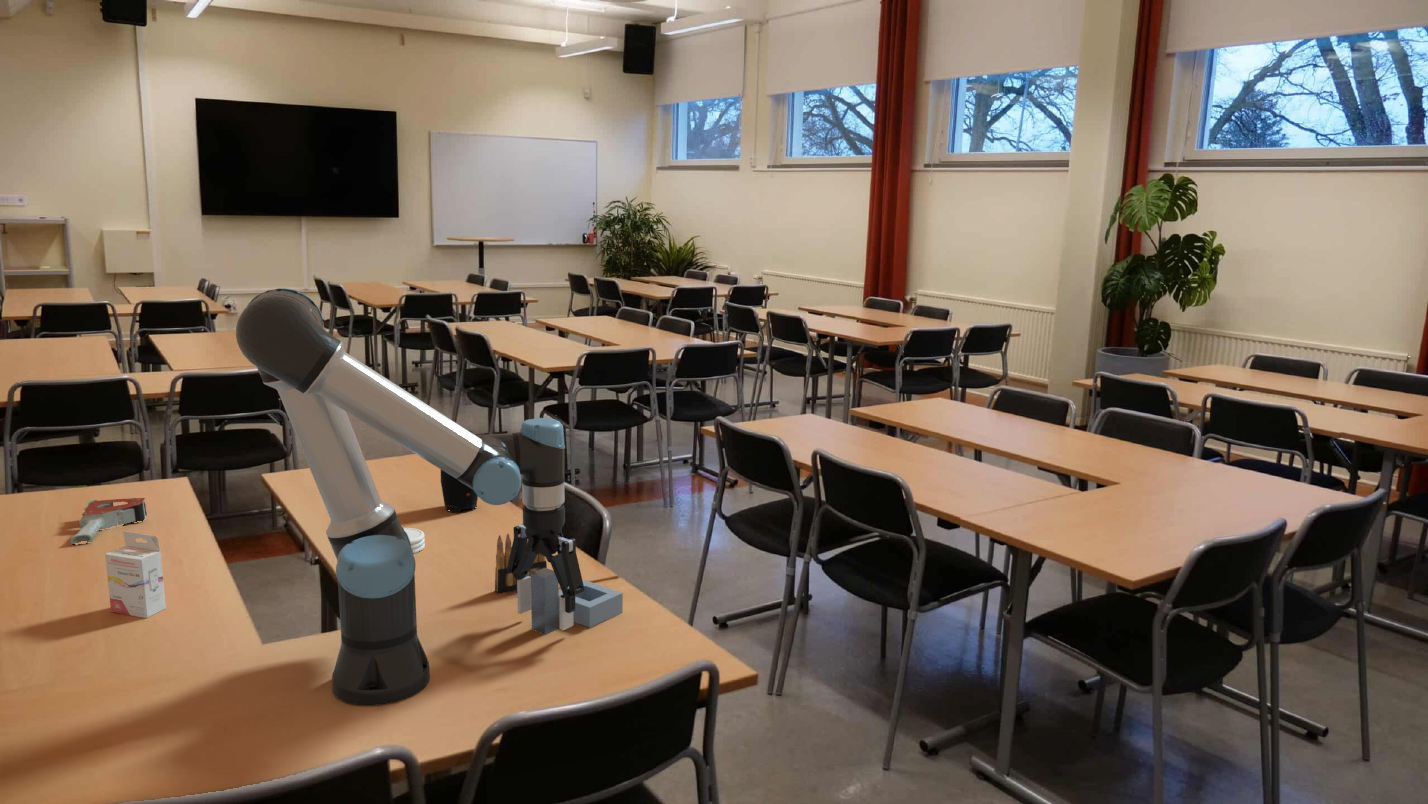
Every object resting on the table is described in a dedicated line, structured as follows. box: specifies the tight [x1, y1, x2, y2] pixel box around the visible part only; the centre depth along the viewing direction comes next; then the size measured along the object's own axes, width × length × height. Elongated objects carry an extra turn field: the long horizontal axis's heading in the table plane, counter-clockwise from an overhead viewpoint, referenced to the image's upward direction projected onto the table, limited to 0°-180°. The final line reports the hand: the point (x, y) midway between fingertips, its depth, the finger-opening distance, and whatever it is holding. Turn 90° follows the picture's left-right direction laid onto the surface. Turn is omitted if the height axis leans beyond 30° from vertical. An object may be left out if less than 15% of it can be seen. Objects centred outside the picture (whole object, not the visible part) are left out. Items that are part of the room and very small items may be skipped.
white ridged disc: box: [403, 527, 426, 555], centre depth 224 cm, size 10×10×4 cm
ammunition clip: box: [494, 533, 548, 594], centre depth 203 cm, size 11×2×12 cm, turn 122°
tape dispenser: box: [69, 497, 148, 545], centre depth 233 cm, size 18×5×20 cm
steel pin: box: [530, 567, 560, 635], centre depth 184 cm, size 4×4×11 cm
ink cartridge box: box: [104, 530, 167, 619], centre depth 187 cm, size 9×5×15 cm, turn 74°
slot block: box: [559, 579, 624, 629], centre depth 192 cm, size 9×10×4 cm
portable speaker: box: [440, 429, 479, 513], centre depth 251 cm, size 9×9×20 cm
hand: (545, 619), depth 185 cm, fingers open, 10 cm apart
